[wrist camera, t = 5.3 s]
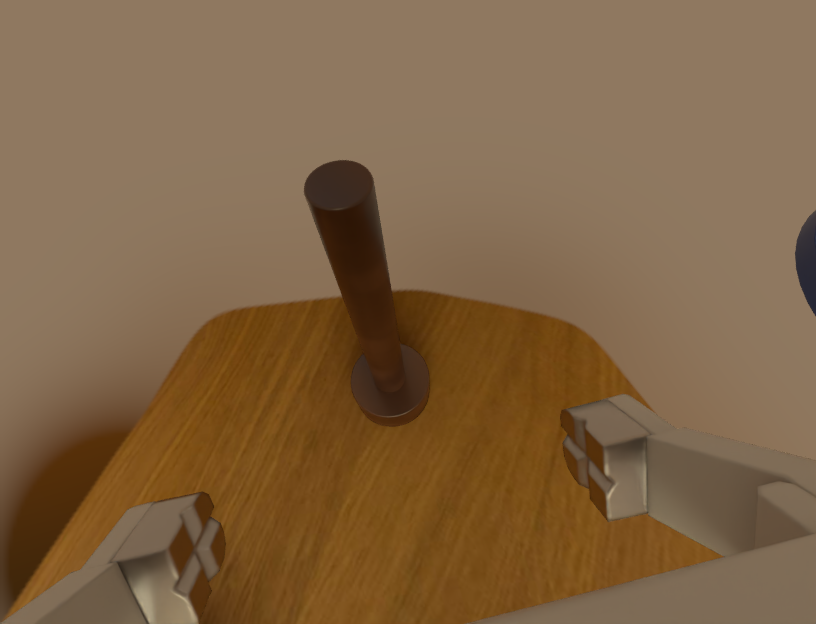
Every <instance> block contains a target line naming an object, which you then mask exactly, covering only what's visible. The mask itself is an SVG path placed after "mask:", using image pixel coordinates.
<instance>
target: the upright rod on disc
mask: <svg viewBox="0 0 816 624" xmlns="http://www.w3.org/2000/svg"><path fill="white" fill-rule="evenodd" d="M304 194H305V197H306V200H307V203H308V205H309V208H310V211H311V213H312V216H313V219H314V222H315V224H316V227H317V230H318V232H319V235H320V238H321V240H322V243H323V245H324V248H325V251H326V254H327V256H328V259H329V262H330V264H331V267H332V270H333V272H334V275H335V278H336V280H337V283H338V286H339V288H340V291H341V294H342V297H343V299H344V302H345V305H346V307H347V310H348V313H349V315H350V318H351V321H352V323H353V326H354V329H355V332H356V334H357V337H358V340H359V342H360V345H361V348H362V350H363V353H364V354H363V355H362V356H361V357H360V358H359V359H358V361H357V362H356V364H355V366H354V368H353V371H352V375H351V388H352V392H353V395H354V397H355V399H356V401H357V403H358V405H359V406H360V408H361V410H362V411H363V413H364V414H365V415H366V416H367V417H368V418H369V419H370V420H372V421H373V422H375V423H377V424H380V425H383V426H390V427H391V426H400V425H404V424H406V423H409V422H411V421H412V420H414V419H415V418H416V417H418V415H419V414H420V413H421V412H422V411H423V409H424V408H425V406H426V404H427V401H428V398H429V371H428V368H427V365H426V363H425V361H424V359H423V358H422V357H421V355H420V354H419V353H418V352H417V351H415V350H414V349H412V348H411V347H409V346H407V345H404V344H400V339H399V333H398V327H397V321H396V315H395V309H394V303H393V297H392V290H391V284H390V278H389V273H388V266H387V260H386V254H385V248H384V242H383V236H382V230H381V223H380V218H379V211H378V205H377V199H376V193H375V186H374V181H373V177H372V175H371V173H370V172H369V171H368V169H367V168H366V167H364V166H363V165H361V164H359V163H357V162H353V161H347V160H338V161H333V162H329V163H326V164H323V165H321V166H320V167H318V168H316V169H315V170H314V171H313V172H312V173H311V174H310V175H309V176H308V178H307V180H306V182H305V186H304Z"/></svg>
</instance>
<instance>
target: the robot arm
mask: <svg viewBox="0 0 816 624" xmlns="http://www.w3.org/2000/svg"><path fill="white" fill-rule="evenodd" d="M560 420H561V427H562V428H563V429H564V430H565V431H566V432H567V436H566V438H565V440H564V441H563V451H564V457H565V460H566V463H567V466H568V469H569V470H570V472H571V474H572V476H573V477H574V479H575V480H576V481H577V483H578V484H579V485H581V486H583V487H586V488H588V489H589V493H590V499H591V501H592V502H593V503H594V505H595V506H596V507H597V508H598V510H599V511H600V512H601V513H602V515H603V516H604V517H605V518H606V520H607V521H608V522H610V521H615V520H620V519H624V518H629V517H633V516H638V515H643V514H647V513H648V515H649V516H651V517H652V518H654V519H656V520H658V521H660V522H662V523H663V524H665V525H667V526H669V527H671V528H673V529H674V530H676V531H678V532H680V533H682V534H684V535H685V536H687V537H689V538H691V539H693V540H695V541H696V542H698V543H700V544H702V545H704V546H706V547H707V548H709V549H711V550H713V551H715V552H717V553H718V554H720V555H722V556H724V557H722V558H718V559H714V560H711V561H707V562H703V563H699V564H695V565H691V566H688V567H684V568H680V569H676V570H672V571H669V572H665V573H661V574H657V575H653V576H650V577H646V578H642V579H638V580H634V581H630V582H627V583H623V584H619V585H615V586H611V587H607V588H603V589H599V590H595V591H591V592H587V593H583V594H580V595H576V596H572V597H568V598H564V599H560V600H556V601H552V602H548V603H544V604H540V605H536V606H532V607H528V608H525V609H521V610H517V611H513V612H509V613H505V614H501V615H497V616H493V617H489V618H485V619H481V620H477V621H474V622H470V623H466V624H816V461H815V460H812V459H808V458H804V457H800V456H796V455H792V454H788V453H784V452H780V451H776V450H772V449H768V448H764V447H760V446H756V445H752V444H748V443H744V442H740V441H736V440H732V439H728V438H724V437H720V436H716V435H712V434H708V433H704V432H700V431H696V430H692V429H688V428H680V429H677V428H675V427H674V426H672V425H671V424H669V423H668V422H666V421H665V420H664V419H662V418H661V417H659V416H658V415H657V414H655V413H654V412H652V411H651V410H649V409H648V408H647V407H645V406H644V405H642V404H641V403H639V402H638V401H637V400H635V399H634V398H632V397H631V396H629V395H625V394H621V395H617V396H614V397H610V398H606V399H603V400H600V401H596V402H592V403H588V404H584V405H580V406H576V407H572V408H568V409H564V410H561V415H560ZM213 508H214V505H213V503H212V500H211V498H210V496H209V494H207V493H205V492H198V493H194V494H189V495H184V496H179V497H174V498H169V499H165V500H160V501H157V502H150V503H146V504H142V505H138V506H134V507H132V508H130V509H128V510H127V511H126V512H125V514H124V515H123V516H122V518H121V519H120V520H119V521H118V523H117V524H116V525H115V526H114V528H113V529H112V530H111V532H110V533H109V534H108V535H107V537H106V538H105V539H104V540H103V542H102V543H101V544H100V545H99V547H98V548H97V549H96V551H95V552H94V553H93V554H92V556H91V557H90V558H89V559H88V561H87V562H86V563H85V565H84V566H83V567H82V568H81V570H79V571H75V572H71V573H70V574H69V575H67V576H66V577H64V578H63V579H62V580H60V581H59V582H57V583H56V584H55V585H53V586H52V587H50V588H49V589H48V590H46V591H45V592H43V593H42V594H41V595H39V596H38V597H37V598H35V599H34V600H32V601H31V602H30V603H28V604H27V605H25V606H24V607H23V608H21V609H20V610H18V611H17V612H16V613H14V614H13V615H11V616H10V617H9V618H7V619H6V620H4V621H3V622H2V623H0V624H198V623H199V622H200V619H201V617H202V614H203V612H204V609H205V607H206V604H207V602H208V599H209V596H210V594H211V591H212V590H211V588H210V585H209V583H208V582H209V581H210V580H211V579H212V578H213V577H214V576H215V575H216V574H217V573H218V572H219V571H220V568H221V566H222V563H223V560H224V555H225V546H226V542H225V536H224V531H223V528H222V526H221V523H220V522H218V521H217V520H215V519H214V518H212V517H210V516H211V513H212V511H213Z"/></svg>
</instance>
